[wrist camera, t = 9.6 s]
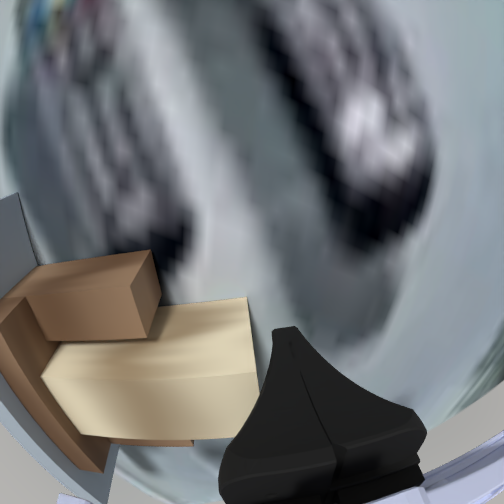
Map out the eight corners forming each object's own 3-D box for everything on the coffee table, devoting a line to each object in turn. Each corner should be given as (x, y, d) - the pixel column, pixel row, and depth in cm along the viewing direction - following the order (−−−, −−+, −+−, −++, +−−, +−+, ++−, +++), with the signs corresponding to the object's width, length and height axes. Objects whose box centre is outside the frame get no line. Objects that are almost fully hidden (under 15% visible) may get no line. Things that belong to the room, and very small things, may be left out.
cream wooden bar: (246, 297, 13) (256, 371, 9) (255, 359, 14) (265, 433, 10) (79, 313, 13) (40, 376, 8) (105, 368, 14) (80, 433, 10)
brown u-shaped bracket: (151, 249, 12) (109, 323, 7) (196, 402, 15) (192, 480, 10) (35, 266, 11) (-26, 325, 7) (100, 402, 15) (79, 469, 10)
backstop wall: (17, 192, 10) (-79, 240, 5) (122, 433, 16) (106, 507, 11) (-3, 199, 10) (-93, 246, 5) (103, 431, 16) (85, 502, 11)
